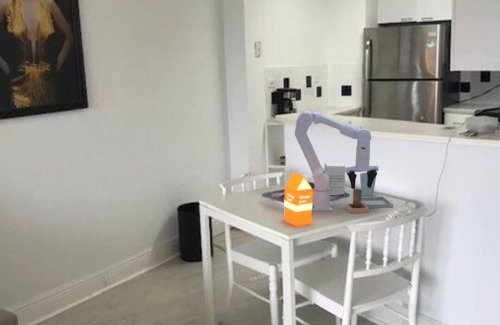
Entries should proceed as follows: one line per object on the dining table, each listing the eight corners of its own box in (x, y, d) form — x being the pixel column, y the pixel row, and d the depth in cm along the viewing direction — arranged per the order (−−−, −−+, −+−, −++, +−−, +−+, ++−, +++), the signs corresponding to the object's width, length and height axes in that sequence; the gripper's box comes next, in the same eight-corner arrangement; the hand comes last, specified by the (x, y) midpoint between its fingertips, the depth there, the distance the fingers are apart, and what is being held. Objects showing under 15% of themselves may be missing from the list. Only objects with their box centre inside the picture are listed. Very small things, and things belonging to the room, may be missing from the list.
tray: (366, 209, 227) (366, 204, 227) (357, 201, 239) (357, 197, 239) (392, 208, 229) (393, 203, 228) (382, 201, 240) (383, 196, 240)
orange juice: (299, 217, 218) (300, 170, 213) (311, 223, 210) (313, 175, 206) (283, 220, 214) (284, 172, 210) (295, 226, 206) (296, 177, 202)
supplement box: (323, 191, 257) (324, 161, 254) (341, 191, 257) (342, 161, 254) (325, 196, 248) (326, 165, 245) (344, 196, 248) (345, 165, 245)
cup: (378, 196, 248) (379, 175, 245) (365, 198, 245) (366, 176, 242) (369, 192, 254) (369, 171, 252) (356, 194, 251) (356, 173, 249)
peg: (353, 211, 223) (354, 191, 221) (351, 209, 226) (352, 189, 224) (362, 211, 223) (363, 191, 221) (359, 208, 227) (360, 188, 225)
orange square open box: (350, 214, 221) (350, 208, 220) (345, 209, 228) (345, 203, 228) (368, 214, 221) (368, 208, 221) (362, 208, 229) (362, 202, 228)
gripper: (351, 159, 215) (349, 191, 218) (382, 158, 219) (380, 189, 222) (343, 156, 222) (342, 187, 225) (374, 154, 226) (372, 185, 229)
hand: (361, 188), depth 224 cm, fingers open, 7 cm apart
